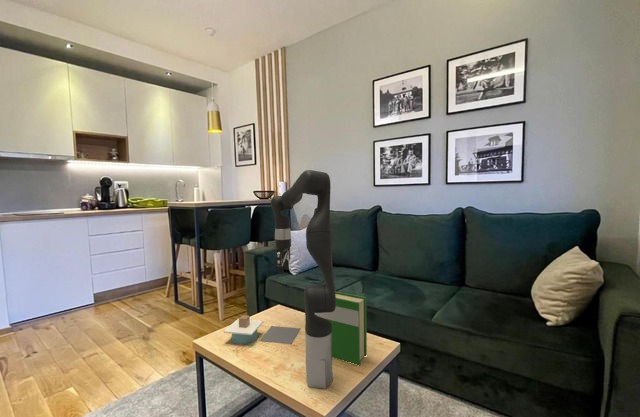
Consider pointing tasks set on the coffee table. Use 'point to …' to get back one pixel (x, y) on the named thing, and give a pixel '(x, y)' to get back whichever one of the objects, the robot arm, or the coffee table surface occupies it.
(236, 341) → the teal pet bowl
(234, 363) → the coffee table surface
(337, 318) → the hardback book
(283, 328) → the rubber mat
